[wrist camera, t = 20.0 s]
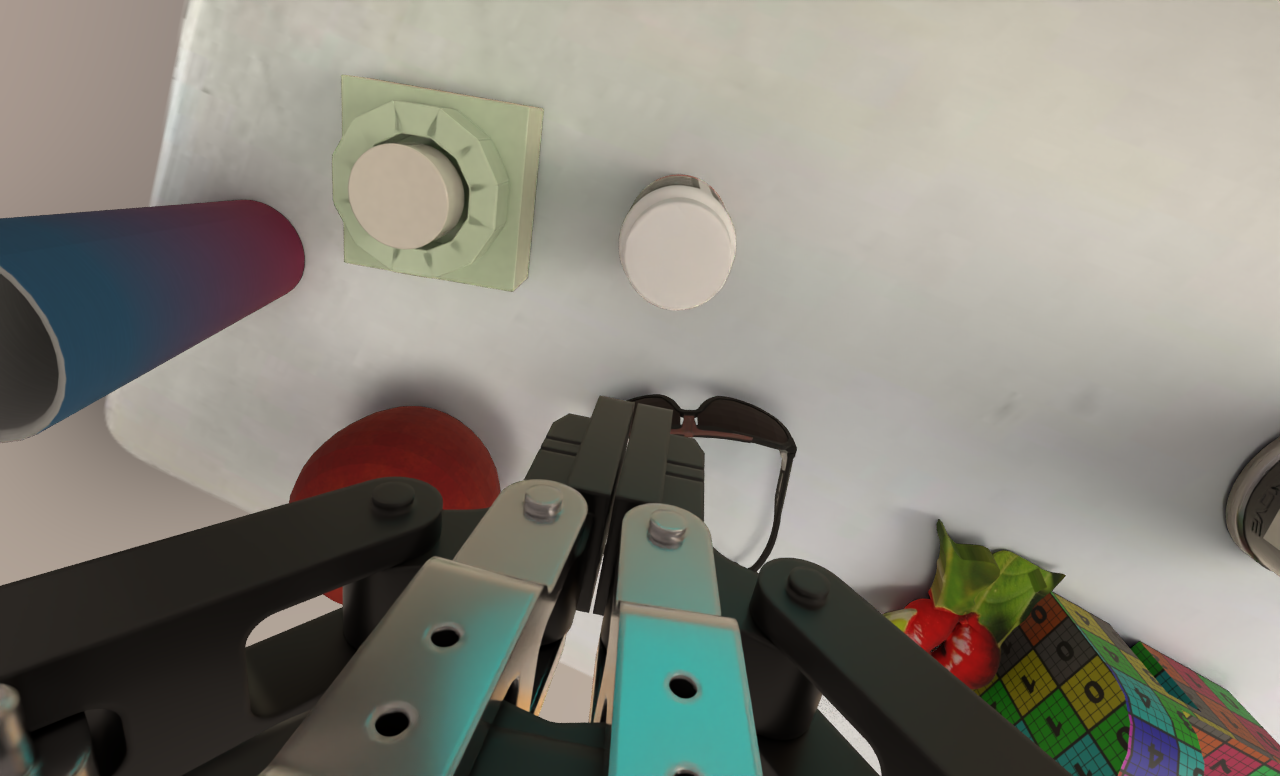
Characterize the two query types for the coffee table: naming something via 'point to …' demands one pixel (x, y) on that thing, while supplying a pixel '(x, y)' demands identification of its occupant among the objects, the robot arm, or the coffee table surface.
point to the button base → (485, 160)
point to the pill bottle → (677, 243)
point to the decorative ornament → (973, 607)
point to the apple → (404, 459)
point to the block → (1119, 703)
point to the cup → (126, 296)
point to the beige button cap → (405, 194)
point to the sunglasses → (734, 437)
